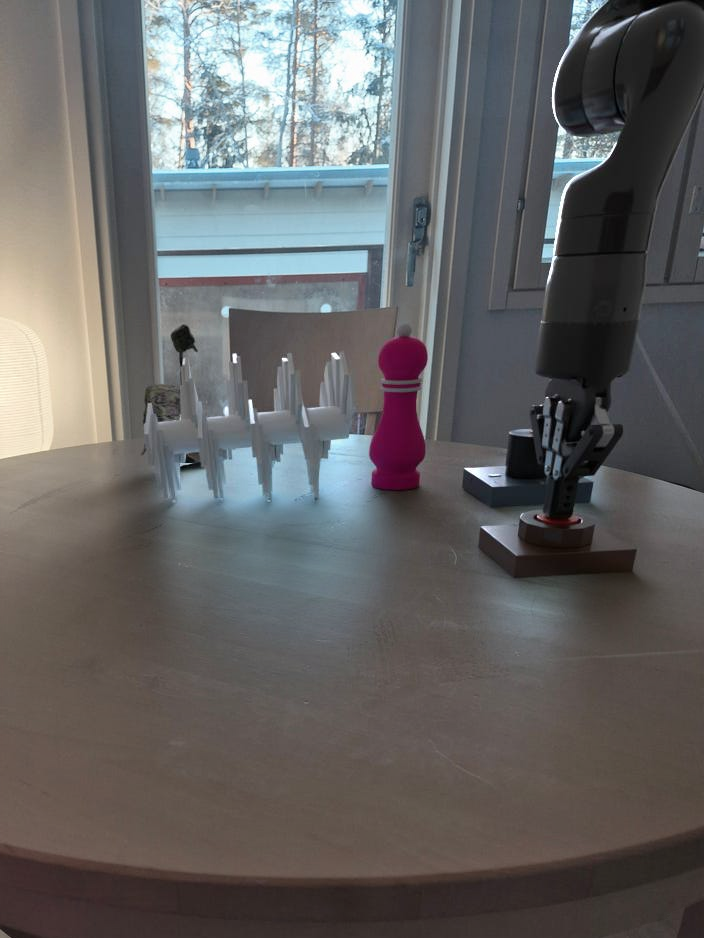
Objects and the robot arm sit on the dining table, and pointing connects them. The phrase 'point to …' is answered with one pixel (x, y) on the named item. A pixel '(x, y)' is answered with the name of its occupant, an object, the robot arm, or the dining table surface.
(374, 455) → the pepper mill
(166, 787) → the dining table surface
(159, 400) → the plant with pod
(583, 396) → the robot arm
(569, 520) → the button
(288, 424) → the spiral staircase
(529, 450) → the dial
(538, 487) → the panel
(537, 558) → the switch block
